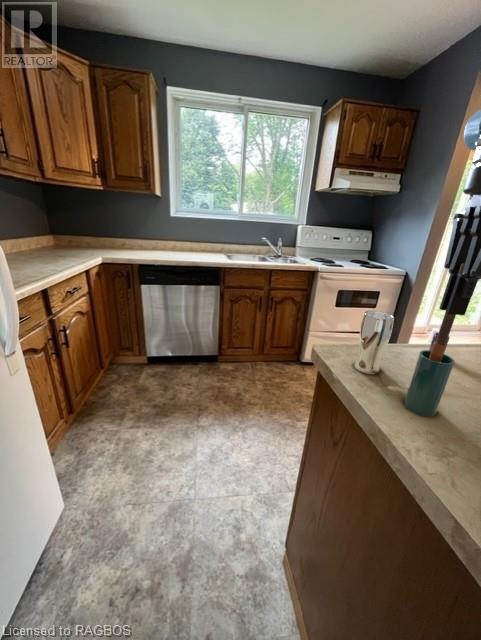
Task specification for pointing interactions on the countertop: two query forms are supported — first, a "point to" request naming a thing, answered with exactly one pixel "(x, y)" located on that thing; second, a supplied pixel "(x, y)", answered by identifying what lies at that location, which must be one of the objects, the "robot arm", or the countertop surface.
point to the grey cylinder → (435, 340)
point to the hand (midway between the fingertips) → (451, 311)
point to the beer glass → (373, 340)
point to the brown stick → (443, 333)
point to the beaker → (428, 384)
